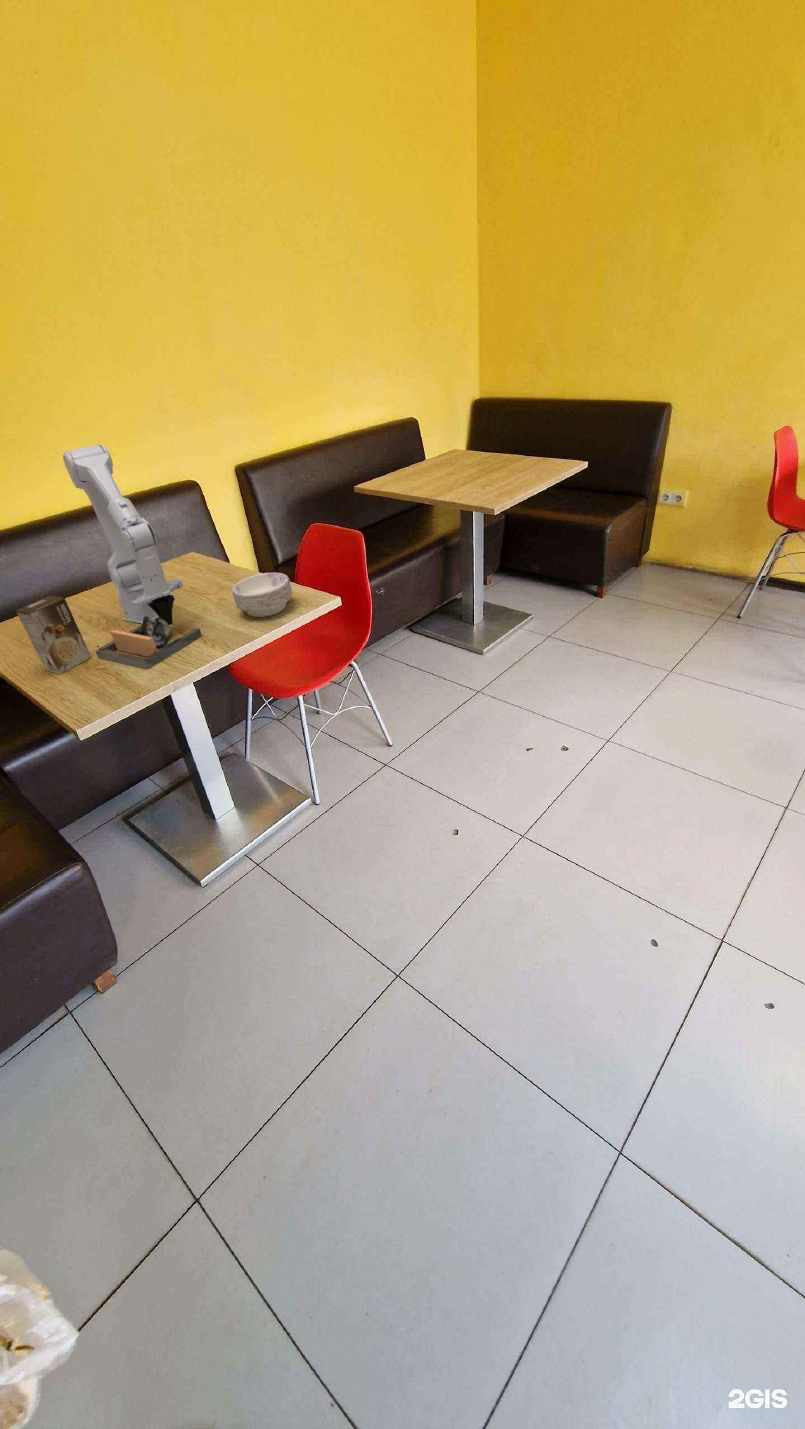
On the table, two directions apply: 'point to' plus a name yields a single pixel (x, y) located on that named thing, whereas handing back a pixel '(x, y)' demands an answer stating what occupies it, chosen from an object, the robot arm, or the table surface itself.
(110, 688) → the table surface
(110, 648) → the rail track
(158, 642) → the snack package
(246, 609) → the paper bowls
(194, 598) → the table surface
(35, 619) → the coffee box
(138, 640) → the plate
